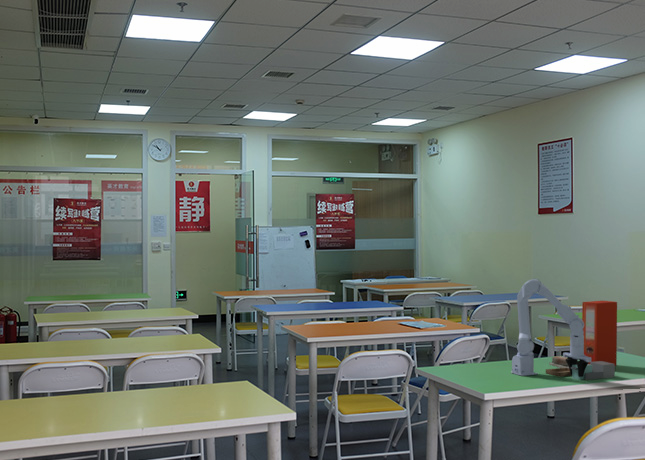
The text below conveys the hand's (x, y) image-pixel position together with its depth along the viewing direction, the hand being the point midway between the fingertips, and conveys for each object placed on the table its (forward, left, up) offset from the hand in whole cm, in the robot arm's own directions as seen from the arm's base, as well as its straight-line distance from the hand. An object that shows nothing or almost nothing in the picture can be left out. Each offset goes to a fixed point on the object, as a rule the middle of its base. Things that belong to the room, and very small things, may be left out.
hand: (576, 375), depth 288 cm
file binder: (+33, +18, -2) cm, 38 cm away
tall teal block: (+3, 0, -1) cm, 3 cm away
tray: (+2, +11, -1) cm, 11 cm away
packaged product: (+17, +21, -2) cm, 27 cm away
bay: (+10, 0, -1) cm, 10 cm away
